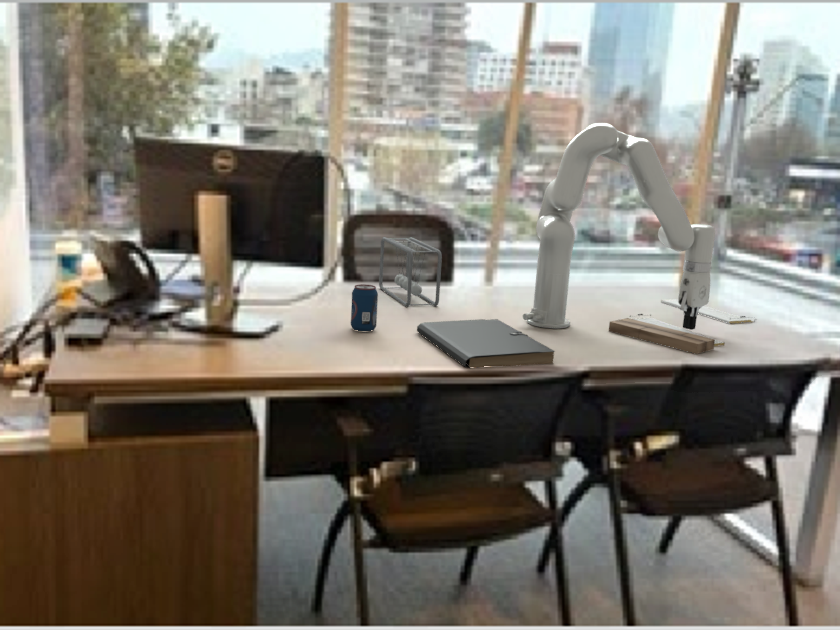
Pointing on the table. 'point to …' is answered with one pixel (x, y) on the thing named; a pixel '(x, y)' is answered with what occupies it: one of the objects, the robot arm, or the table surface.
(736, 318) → the baseboard molding
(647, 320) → the baseboard
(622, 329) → the plank row
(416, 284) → the newton's cradle
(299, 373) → the table surface
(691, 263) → the robot arm
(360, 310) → the soda can
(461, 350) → the dark grey book
